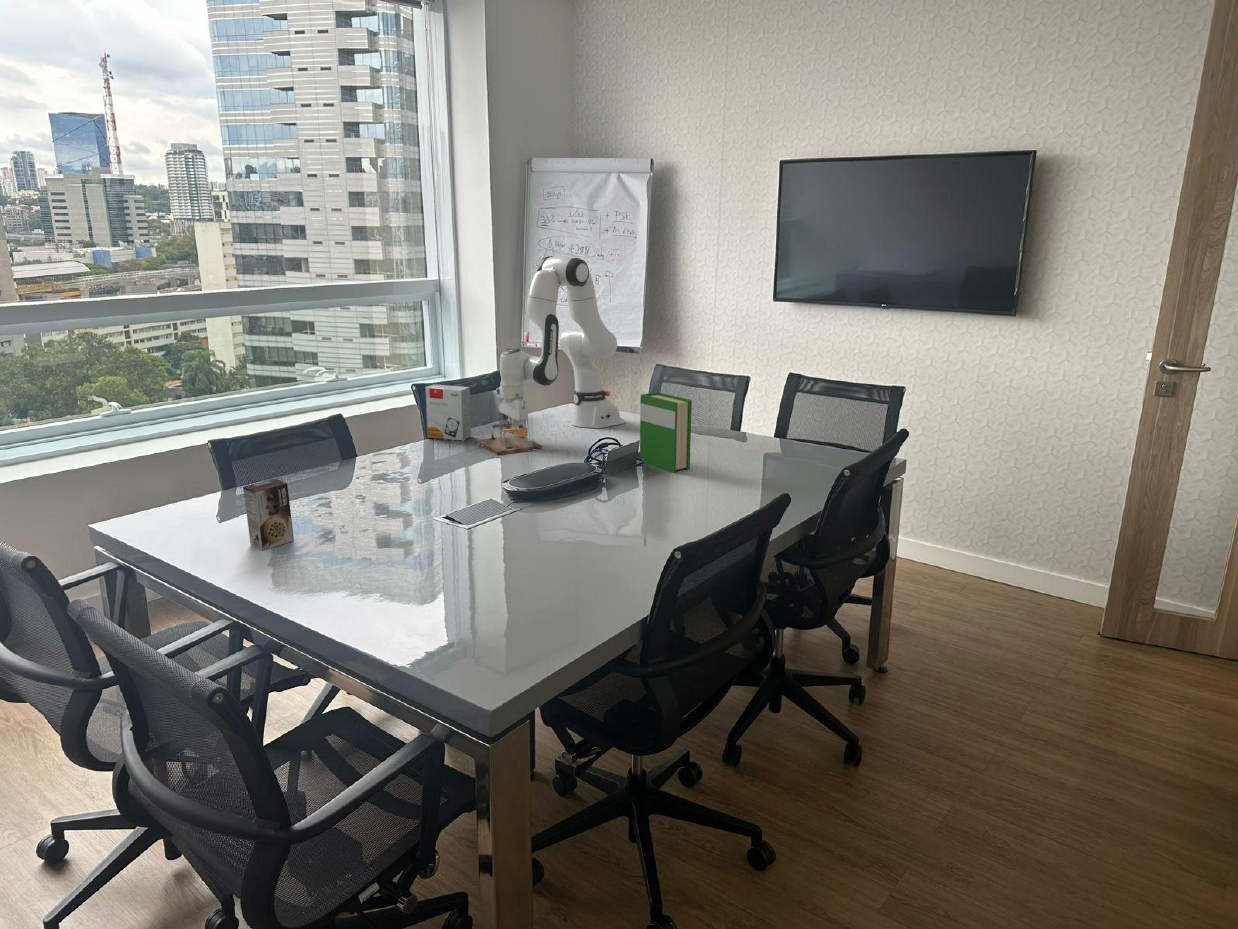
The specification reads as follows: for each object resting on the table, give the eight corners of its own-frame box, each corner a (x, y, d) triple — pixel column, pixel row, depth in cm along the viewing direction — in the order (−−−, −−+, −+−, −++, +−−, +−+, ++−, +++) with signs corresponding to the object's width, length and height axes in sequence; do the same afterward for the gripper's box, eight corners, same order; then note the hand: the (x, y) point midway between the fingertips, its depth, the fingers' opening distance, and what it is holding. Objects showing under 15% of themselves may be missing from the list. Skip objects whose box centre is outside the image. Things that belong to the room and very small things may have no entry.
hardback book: (689, 469, 294) (691, 400, 288) (673, 473, 290) (675, 402, 283) (655, 458, 308) (656, 391, 301) (639, 461, 303) (640, 394, 297)
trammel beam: (513, 435, 334) (512, 419, 332) (534, 446, 318) (533, 429, 316) (490, 438, 330) (489, 421, 328) (510, 449, 314) (510, 432, 312)
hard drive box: (426, 438, 334) (423, 387, 328) (436, 433, 341) (433, 384, 336) (463, 441, 330) (460, 389, 324) (472, 436, 337) (470, 386, 331)
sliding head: (523, 439, 326) (523, 423, 324) (527, 441, 323) (527, 425, 321) (500, 442, 321) (500, 426, 319) (504, 444, 318) (503, 428, 316)
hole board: (520, 437, 336) (520, 434, 336) (542, 448, 320) (542, 445, 319) (476, 442, 327) (476, 439, 327) (497, 455, 311) (496, 451, 310)
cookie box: (281, 535, 231) (275, 477, 226) (294, 541, 227) (288, 482, 222) (249, 545, 224) (242, 485, 220) (262, 551, 220) (255, 490, 216)
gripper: (531, 396, 317) (532, 432, 321) (509, 387, 334) (510, 422, 338) (515, 397, 314) (516, 434, 317) (494, 388, 331) (495, 423, 334)
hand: (513, 428), depth 328 cm, fingers closed
